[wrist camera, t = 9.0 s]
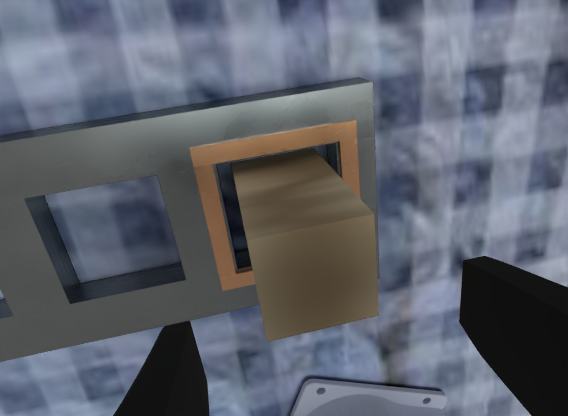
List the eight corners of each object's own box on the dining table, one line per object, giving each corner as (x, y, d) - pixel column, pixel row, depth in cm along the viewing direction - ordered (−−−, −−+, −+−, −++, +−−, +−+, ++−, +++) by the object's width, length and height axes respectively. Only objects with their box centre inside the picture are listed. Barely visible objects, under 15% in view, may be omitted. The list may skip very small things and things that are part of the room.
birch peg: (313, 147, 18) (374, 213, 11) (321, 221, 19) (378, 315, 13) (230, 163, 17) (247, 240, 11) (245, 236, 19) (267, 341, 13)
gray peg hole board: (359, 77, 17) (374, 82, 15) (367, 262, 21) (381, 280, 19) (-239, 174, 14) (-291, 191, 13) (-104, 363, 18) (-132, 393, 17)
